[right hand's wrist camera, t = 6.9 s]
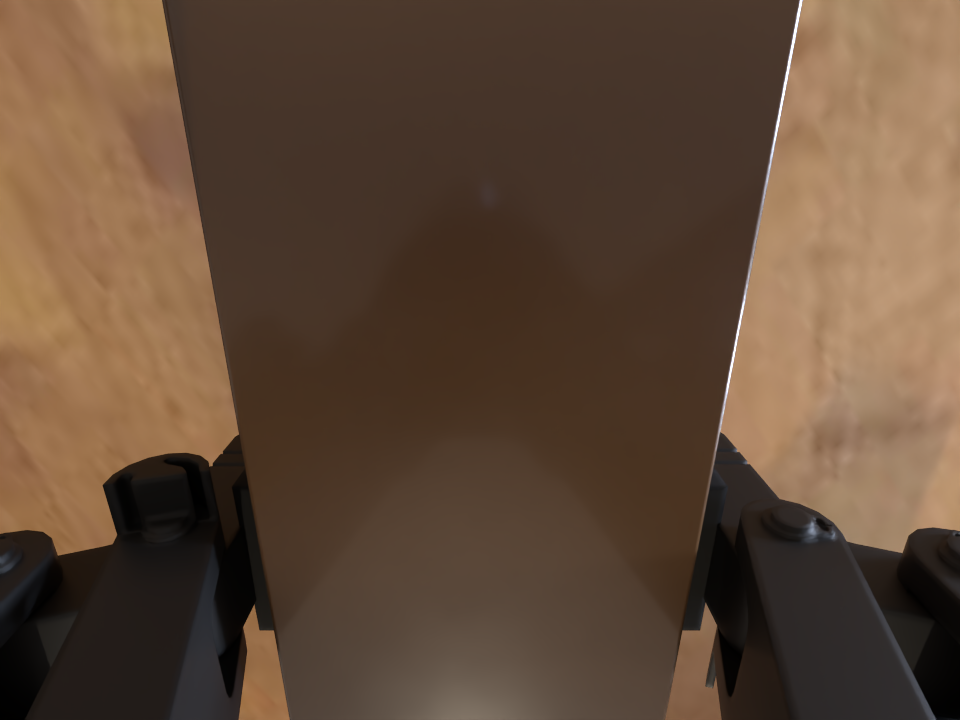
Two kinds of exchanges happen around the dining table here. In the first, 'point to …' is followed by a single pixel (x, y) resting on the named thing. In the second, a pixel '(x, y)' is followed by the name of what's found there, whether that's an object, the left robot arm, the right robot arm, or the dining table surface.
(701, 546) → the right robot arm
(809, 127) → the dining table surface
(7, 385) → the dining table surface
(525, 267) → the board
